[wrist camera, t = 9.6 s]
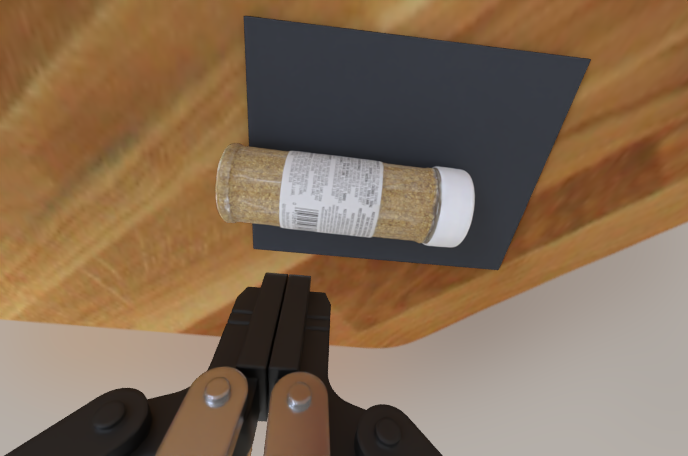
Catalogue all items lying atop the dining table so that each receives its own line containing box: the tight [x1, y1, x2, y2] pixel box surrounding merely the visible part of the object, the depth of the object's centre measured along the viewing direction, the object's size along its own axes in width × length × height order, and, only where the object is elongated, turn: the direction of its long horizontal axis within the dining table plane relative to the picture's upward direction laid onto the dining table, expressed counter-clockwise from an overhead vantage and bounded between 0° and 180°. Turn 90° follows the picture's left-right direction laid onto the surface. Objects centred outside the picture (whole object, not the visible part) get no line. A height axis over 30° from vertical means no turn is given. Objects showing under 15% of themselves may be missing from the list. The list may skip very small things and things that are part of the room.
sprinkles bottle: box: [215, 143, 475, 247], centre depth 19 cm, size 5×5×14 cm
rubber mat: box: [244, 16, 591, 270], centre depth 20 cm, size 18×14×1 cm
